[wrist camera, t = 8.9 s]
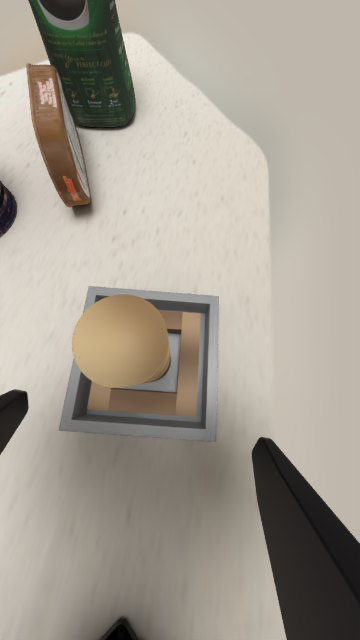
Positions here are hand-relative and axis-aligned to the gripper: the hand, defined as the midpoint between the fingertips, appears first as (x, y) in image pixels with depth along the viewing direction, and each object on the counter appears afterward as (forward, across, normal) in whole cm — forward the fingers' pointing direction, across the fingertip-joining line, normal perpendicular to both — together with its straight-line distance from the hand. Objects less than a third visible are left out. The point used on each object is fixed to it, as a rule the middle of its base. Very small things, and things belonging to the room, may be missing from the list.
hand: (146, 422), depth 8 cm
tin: (+27, +15, -10) cm, 32 cm away
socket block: (+12, +1, +6) cm, 13 cm away
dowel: (+11, +1, +5) cm, 13 cm away
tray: (+12, +1, +6) cm, 13 cm away
